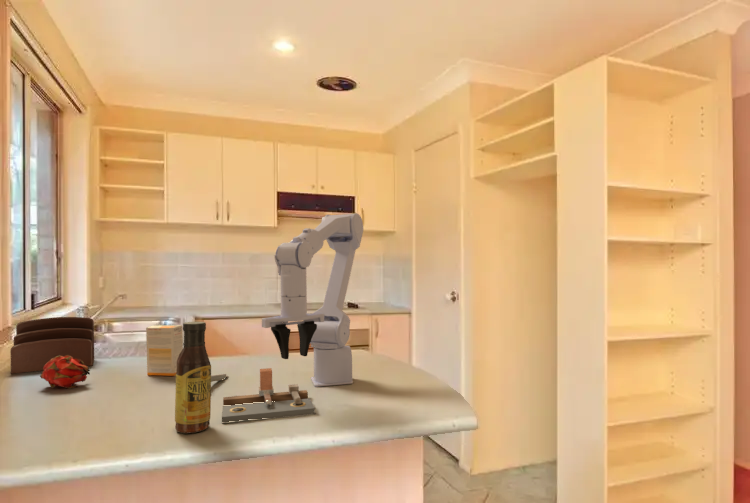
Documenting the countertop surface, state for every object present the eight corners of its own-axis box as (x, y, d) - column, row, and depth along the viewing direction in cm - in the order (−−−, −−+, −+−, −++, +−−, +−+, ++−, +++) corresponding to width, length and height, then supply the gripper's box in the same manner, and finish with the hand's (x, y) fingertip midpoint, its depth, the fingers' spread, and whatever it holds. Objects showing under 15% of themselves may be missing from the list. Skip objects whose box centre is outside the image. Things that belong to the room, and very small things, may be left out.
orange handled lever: (272, 392, 111) (272, 367, 111) (276, 405, 101) (275, 378, 101) (258, 393, 110) (258, 368, 110) (261, 407, 100) (260, 380, 100)
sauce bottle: (189, 437, 88) (188, 326, 88) (167, 431, 92) (166, 323, 92) (218, 426, 94) (217, 321, 94) (197, 420, 97) (196, 319, 97)
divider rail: (306, 396, 112) (306, 383, 112) (312, 409, 103) (312, 395, 103) (223, 404, 108) (223, 390, 108) (222, 418, 98) (222, 403, 98)
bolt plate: (310, 403, 107) (309, 397, 107) (314, 414, 100) (314, 407, 100) (222, 411, 102) (222, 405, 102) (221, 423, 96) (221, 416, 96)
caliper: (188, 401, 111) (188, 373, 111) (184, 401, 111) (183, 373, 111) (228, 378, 131) (228, 354, 131) (224, 378, 131) (224, 354, 131)
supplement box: (184, 372, 137) (183, 324, 137) (174, 376, 132) (173, 327, 132) (157, 371, 138) (156, 324, 138) (146, 375, 133) (145, 326, 133)
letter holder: (17, 367, 146) (16, 319, 146) (94, 359, 155) (94, 314, 155) (10, 374, 137) (9, 323, 137) (92, 366, 146) (92, 318, 146)
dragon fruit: (44, 391, 125) (87, 399, 123) (23, 378, 118) (68, 387, 116) (62, 359, 130) (104, 367, 128) (44, 346, 123) (87, 354, 121)
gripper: (313, 293, 118) (314, 350, 118) (255, 296, 110) (256, 358, 110) (328, 294, 112) (329, 354, 113) (269, 299, 104) (269, 364, 104)
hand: (294, 357), depth 111 cm, fingers open, 4 cm apart
